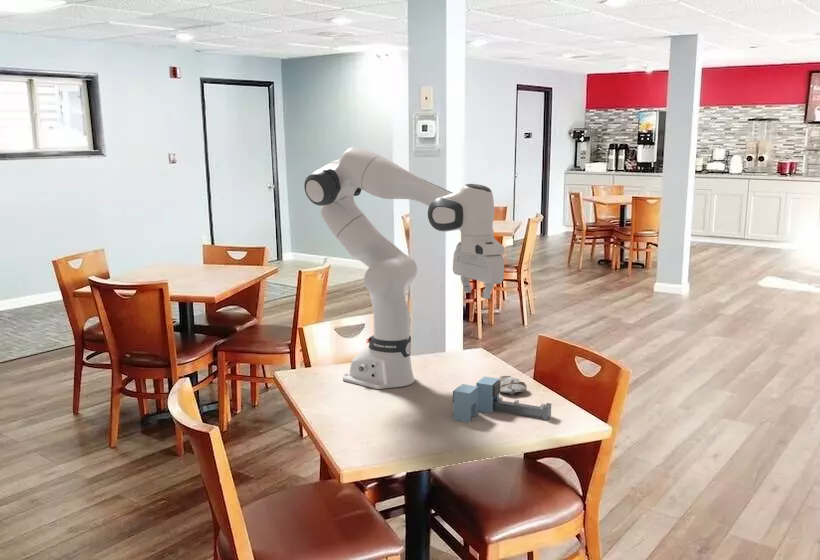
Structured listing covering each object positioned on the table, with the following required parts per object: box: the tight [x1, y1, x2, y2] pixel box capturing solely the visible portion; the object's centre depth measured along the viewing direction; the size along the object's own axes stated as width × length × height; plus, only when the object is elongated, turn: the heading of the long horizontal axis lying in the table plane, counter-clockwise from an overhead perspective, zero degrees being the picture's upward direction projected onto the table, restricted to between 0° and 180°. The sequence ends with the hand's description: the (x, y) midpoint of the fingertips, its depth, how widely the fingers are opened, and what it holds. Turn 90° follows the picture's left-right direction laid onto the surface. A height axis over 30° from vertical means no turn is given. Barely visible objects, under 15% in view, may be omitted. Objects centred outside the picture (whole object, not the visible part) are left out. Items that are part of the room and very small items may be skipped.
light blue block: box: [452, 383, 479, 423], centre depth 202 cm, size 5×6×8 cm
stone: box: [498, 375, 528, 396], centre depth 225 cm, size 12×9×3 cm
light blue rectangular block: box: [475, 376, 501, 414], centre depth 209 cm, size 5×6×8 cm
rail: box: [493, 396, 552, 421], centre depth 207 cm, size 23×4×4 cm, turn 65°
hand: (476, 295), depth 205 cm, fingers open, 8 cm apart
